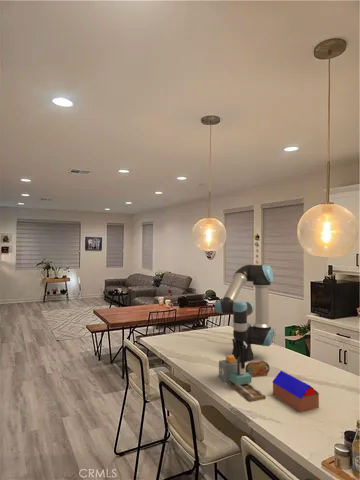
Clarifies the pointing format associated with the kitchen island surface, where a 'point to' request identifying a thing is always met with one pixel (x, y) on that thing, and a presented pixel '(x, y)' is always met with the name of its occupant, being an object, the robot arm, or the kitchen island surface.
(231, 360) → the button
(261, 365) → the tin
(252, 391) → the rail bed
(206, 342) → the kitchen island surface
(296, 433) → the kitchen island surface
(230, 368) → the cabinet
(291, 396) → the house
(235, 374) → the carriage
